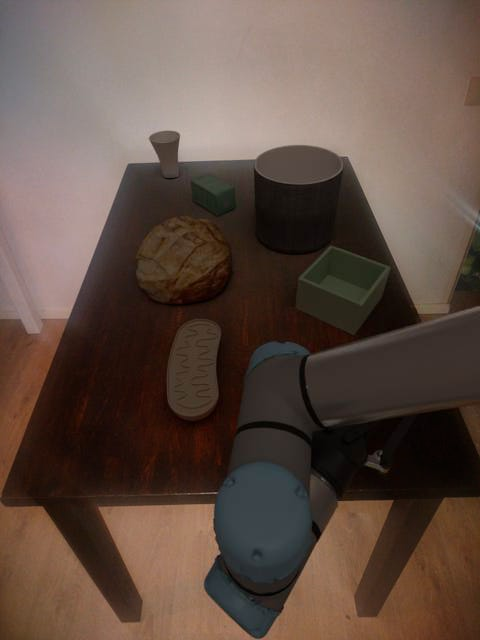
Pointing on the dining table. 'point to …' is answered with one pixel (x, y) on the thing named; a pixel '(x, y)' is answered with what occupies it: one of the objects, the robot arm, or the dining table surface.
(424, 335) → the robot arm
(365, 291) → the waste bin
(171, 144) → the cup
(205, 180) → the box
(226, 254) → the bread
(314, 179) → the planter
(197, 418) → the anatomical model
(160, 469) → the dining table surface
